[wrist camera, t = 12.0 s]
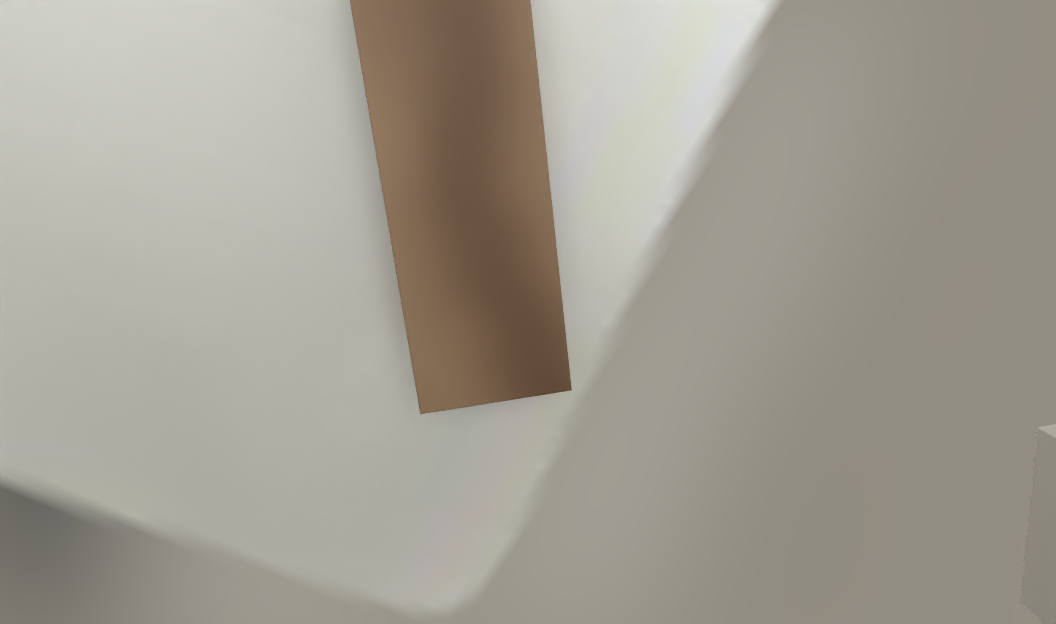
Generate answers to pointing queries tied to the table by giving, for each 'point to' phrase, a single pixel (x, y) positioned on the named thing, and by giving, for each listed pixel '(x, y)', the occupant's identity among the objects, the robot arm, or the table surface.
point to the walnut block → (466, 195)
